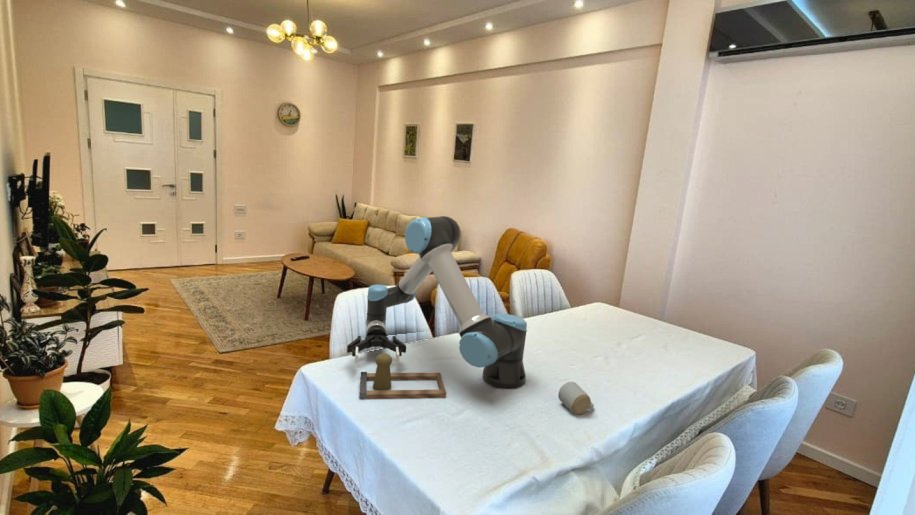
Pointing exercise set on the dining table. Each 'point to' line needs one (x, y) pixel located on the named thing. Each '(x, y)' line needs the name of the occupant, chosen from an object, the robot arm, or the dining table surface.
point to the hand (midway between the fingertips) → (377, 358)
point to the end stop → (363, 385)
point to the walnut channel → (408, 393)
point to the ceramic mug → (575, 398)
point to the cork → (383, 372)
